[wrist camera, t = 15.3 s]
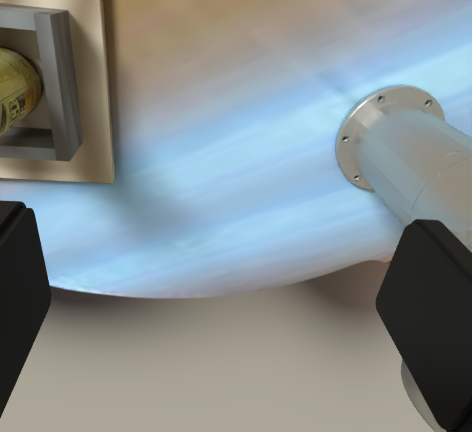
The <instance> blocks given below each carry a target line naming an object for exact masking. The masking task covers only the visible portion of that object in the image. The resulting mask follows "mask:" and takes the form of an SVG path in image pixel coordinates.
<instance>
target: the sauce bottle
mask: <svg viewBox="0 0 472 432" xmlns="http://www.w3.org/2000/svg"><path fill="white" fill-rule="evenodd" d="M43 89H44V85H43V80H42V77H41V75H40V73H39V71H38V69H37V67H36V65H35V64H34V63H33V61H32V60H30V59H29V58H28V57H26V56H25V55H24V54H22V53H20V52H18V51H16V50H13V49H10V48H8V47H3V46H0V137H1V136H3V135H4V134H5V133H6V132H8V131H9V130H10V129H11V128H13V127H14V126H15V125H16V124H17V123H18V122H20V121H21V120H22V119H23V118H24V117H26V116H27V115H28V114H29V113H31V112H32V111H33V110H34V109H35V108H36V107H37V105H38V104H39V101H40V99H41V97H42V94H43Z"/></svg>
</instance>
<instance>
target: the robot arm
mask: <svg viewBox="0 0 472 432" xmlns="http://www.w3.org/2000/svg"><path fill="white" fill-rule="evenodd" d="M379 97H380V98H379ZM378 98H379V99H378ZM425 102H426V103H425ZM343 137H345V138H344V139H343ZM335 153H336V159H337V162H338V166H339V167H340V169H341V171H342V172H343V174H344V175H345V176H346V177H347V179H348V180H349V181H351V182H352V183H353V184H355V185H357V186H359V187H361V188H364V189H368V190H375V192H376V193H377V194H378V195H379V197H380V198H381V199H382V200H383V201H384V203H385V204H386V205H387V206H388V208H389V209H390V210H391V211H392V212H393V214H394V215H395V216H396V217H397V218H398V220H399V221H400V222H401V223H402V225H403V226H404V227H405V229H404V231H403V234H402V236H401V239H400V241H399V244H398V246H397V248H396V251H395V253H394V256H393V258H392V261H391V263H390V266H389V268H388V271H387V273H386V275H385V278H384V280H383V283H382V285H381V287H380V290H379V292H378V295H377V297H376V309H377V311H378V313H379V315H380V317H381V319H382V321H383V323H384V324H385V326H386V328H387V330H388V332H389V334H390V336H391V338H392V340H393V341H394V343H395V345H396V347H397V349H398V351H399V353H400V355H401V356H402V358H403V360H402V364H401V376H402V381H403V385H404V387H405V390H406V392H407V394H408V396H409V398H410V400H411V401H412V403H413V405H414V407H415V408H416V409H417V411H418V412H419V414H420V415H421V416H422V418H423V419H424V420H425V421H426V423H427V424H428V425H429V426H430V427H431V428H432V429H433V430H434V431H435V432H472V137H470V136H468V135H467V134H465V133H463V132H462V131H460V130H458V129H457V128H455V127H453V126H452V125H450V124H448V123H447V122H445V117H444V113H443V111H442V108H441V106H440V104H439V103H438V102H437V100H436V99H435V98H434V97H433V96H431V95H430V94H429V93H427V92H426V91H424V90H422V89H420V88H416V87H413V86H408V85H395V86H389V87H386V88H382V89H379V90H377V91H375V92H373V93H371V94H369V95H368V96H366V97H365V98H364V99H362V100H361V101H359V102H358V103H357V104H356V105H355V106H354V107H353V108H352V109H351V110H350V112H349V113H348V115H347V116H346V117H345V119H344V120H343V122H342V124H341V126H340V128H339V131H338V134H337V138H336V145H335ZM50 303H51V290H50V286H49V281H48V276H47V271H46V266H45V261H44V257H43V252H42V247H41V242H40V237H39V233H38V228H37V223H36V218H35V214H34V211H33V209H31V208H26V206H25V204H24V203H23V202H19V201H0V418H1V415H2V413H3V411H4V408H5V406H6V404H7V402H8V400H9V397H10V395H11V393H12V390H13V388H14V386H15V384H16V382H17V379H18V377H19V375H20V372H21V370H22V368H23V366H24V363H25V361H26V359H27V357H28V354H29V352H30V350H31V348H32V345H33V343H34V341H35V339H36V336H37V334H38V332H39V330H40V327H41V325H42V323H43V321H44V318H45V316H46V314H47V312H48V309H49V307H50Z"/></svg>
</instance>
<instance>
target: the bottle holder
mask: <svg viewBox="0 0 472 432" xmlns="http://www.w3.org/2000/svg"><path fill="white" fill-rule="evenodd" d="M0 46H3V47H8V48H10V49H13V50H16V51H18V52H20V53H22V54H24V55H25V56H26V57H28V58H29V59H30V60H32V61H33V63H34V64H35V65H36V67H37V69H38V71H39V73H40V75H41V77H42V80H43V85H44V89H43V94H42V97H41V99H40V101H39V104H38V105H37V107H36V108H35V109H34V110H33V111H32V112H31V113H29V114H28V115H27V116H26V117H24V118H23V119H22V120H21V121H20V122H18V123H17V124H16V125H15V126H14V127H13V128H11V129H10V130H9V131H8V132H6V133H5V134H4V135H3V136H1V137H0V178H15V179H34V180H54V181H73V182H93V183H112V184H113V183H114V180H115V178H116V176H115V162H114V147H113V133H112V119H111V105H110V90H109V76H108V62H107V48H106V33H105V19H104V5H103V0H0Z"/></svg>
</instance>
